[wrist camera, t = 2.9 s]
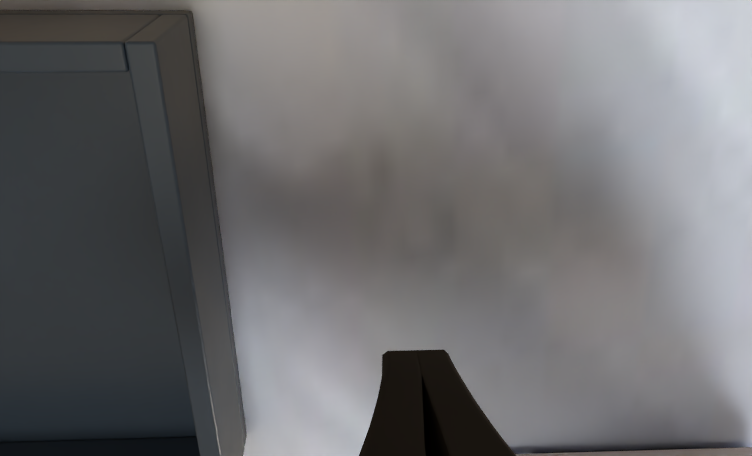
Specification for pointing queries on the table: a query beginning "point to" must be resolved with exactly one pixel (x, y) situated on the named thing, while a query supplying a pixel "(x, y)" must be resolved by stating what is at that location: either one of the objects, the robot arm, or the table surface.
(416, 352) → the robot arm
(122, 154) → the tray
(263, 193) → the table surface
